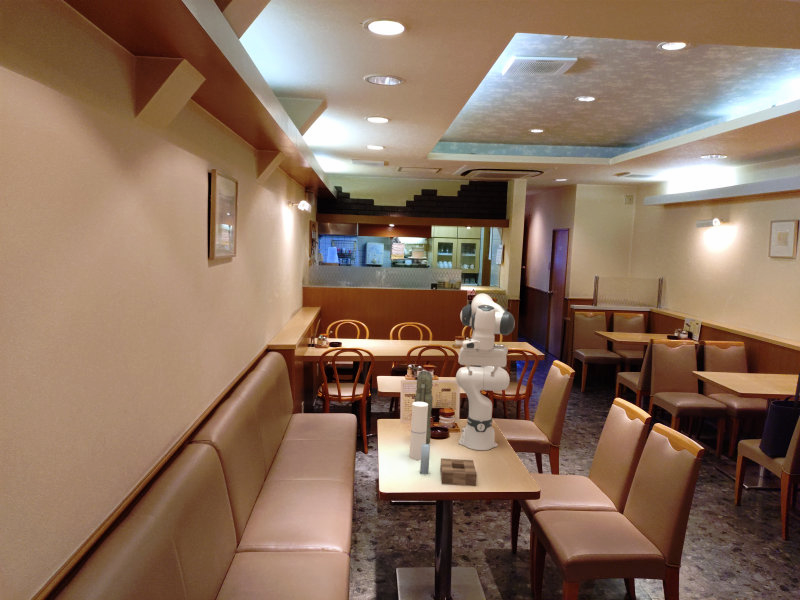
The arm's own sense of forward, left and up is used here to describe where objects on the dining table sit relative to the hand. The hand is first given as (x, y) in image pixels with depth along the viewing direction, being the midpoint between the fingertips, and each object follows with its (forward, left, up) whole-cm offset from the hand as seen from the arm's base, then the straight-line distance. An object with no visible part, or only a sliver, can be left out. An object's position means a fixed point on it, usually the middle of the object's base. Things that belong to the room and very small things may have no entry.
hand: (481, 375), depth 231 cm
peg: (+3, -22, -43) cm, 48 cm away
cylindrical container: (-13, -25, -43) cm, 51 cm away
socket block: (+6, -8, -43) cm, 44 cm away
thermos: (-32, -23, -43) cm, 58 cm away
